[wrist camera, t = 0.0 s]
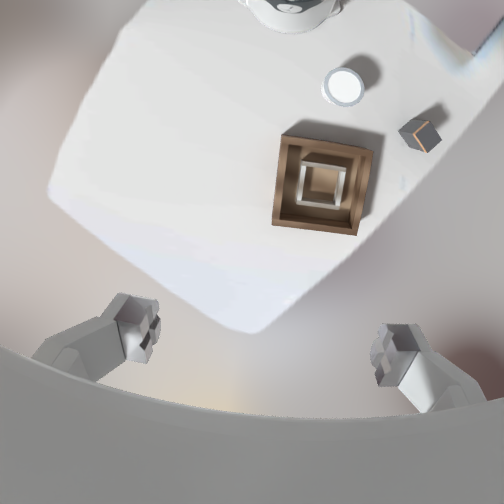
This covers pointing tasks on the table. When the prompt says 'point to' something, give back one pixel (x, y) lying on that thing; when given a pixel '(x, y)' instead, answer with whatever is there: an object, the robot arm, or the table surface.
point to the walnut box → (320, 185)
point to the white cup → (343, 87)
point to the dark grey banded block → (420, 135)
